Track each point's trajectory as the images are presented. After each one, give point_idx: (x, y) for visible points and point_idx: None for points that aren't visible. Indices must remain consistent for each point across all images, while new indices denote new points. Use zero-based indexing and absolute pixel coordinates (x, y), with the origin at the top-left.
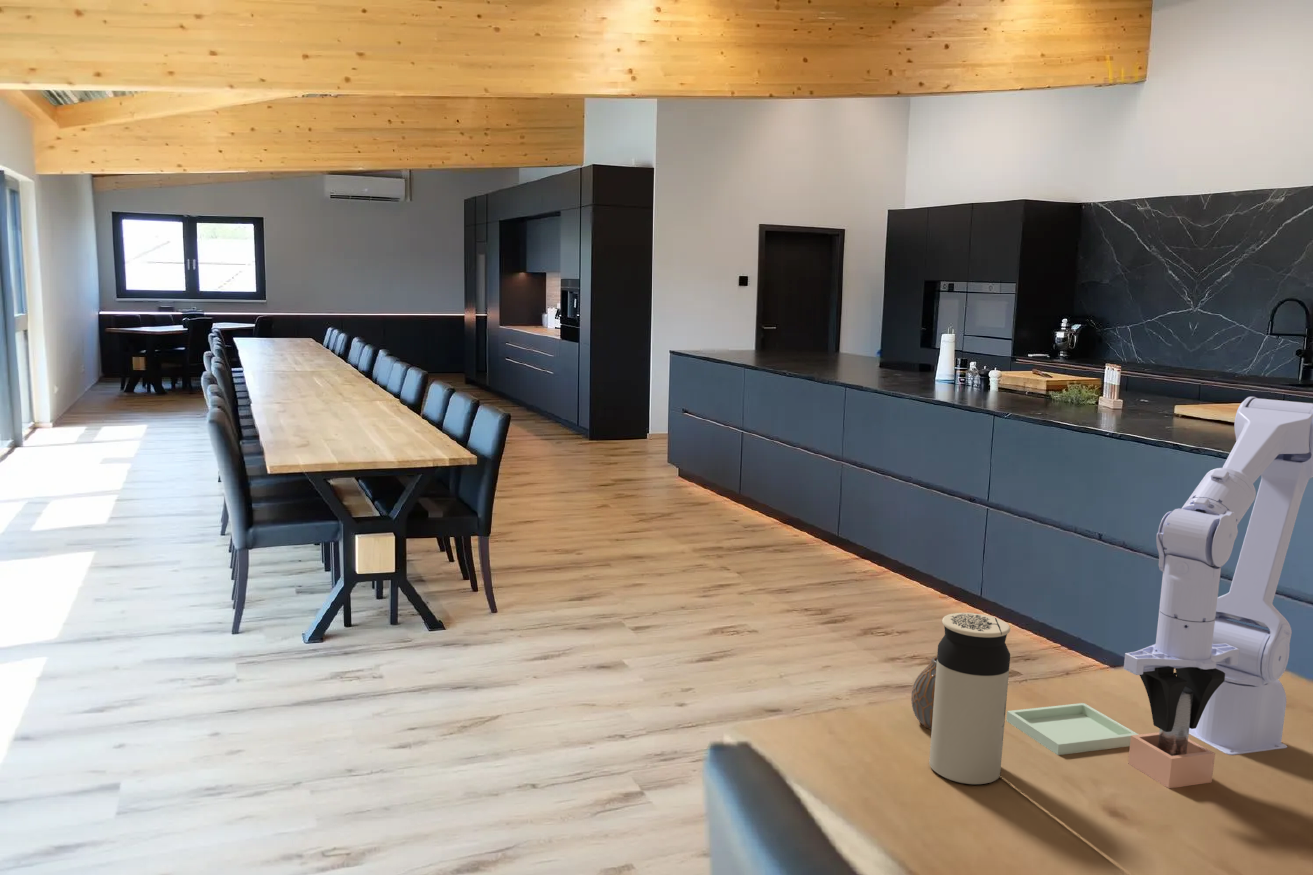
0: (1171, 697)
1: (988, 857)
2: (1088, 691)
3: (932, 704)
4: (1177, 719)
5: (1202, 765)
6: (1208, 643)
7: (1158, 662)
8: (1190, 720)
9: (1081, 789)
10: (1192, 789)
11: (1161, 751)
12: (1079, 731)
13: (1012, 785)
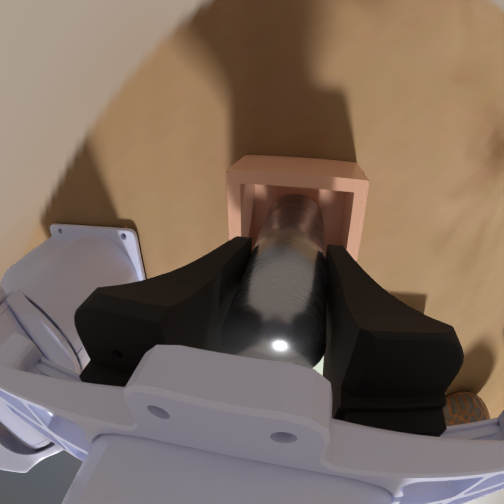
0: (392, 301)
1: None
2: None
3: (489, 416)
4: (314, 256)
5: (267, 165)
6: None
7: (499, 452)
8: (246, 255)
9: (481, 229)
10: (296, 154)
11: (356, 219)
12: (321, 359)
13: None
